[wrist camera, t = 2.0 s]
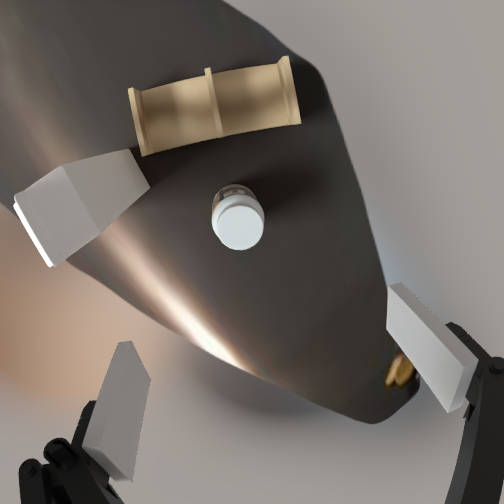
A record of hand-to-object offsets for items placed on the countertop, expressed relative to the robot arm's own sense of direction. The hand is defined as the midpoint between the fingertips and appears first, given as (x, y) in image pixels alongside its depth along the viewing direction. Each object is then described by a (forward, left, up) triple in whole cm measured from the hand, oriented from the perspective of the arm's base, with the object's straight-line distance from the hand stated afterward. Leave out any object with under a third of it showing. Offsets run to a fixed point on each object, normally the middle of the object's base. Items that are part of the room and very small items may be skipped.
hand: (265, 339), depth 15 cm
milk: (-7, -14, -28) cm, 32 cm away
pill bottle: (0, 0, -28) cm, 28 cm away
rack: (-13, 0, -28) cm, 31 cm away
